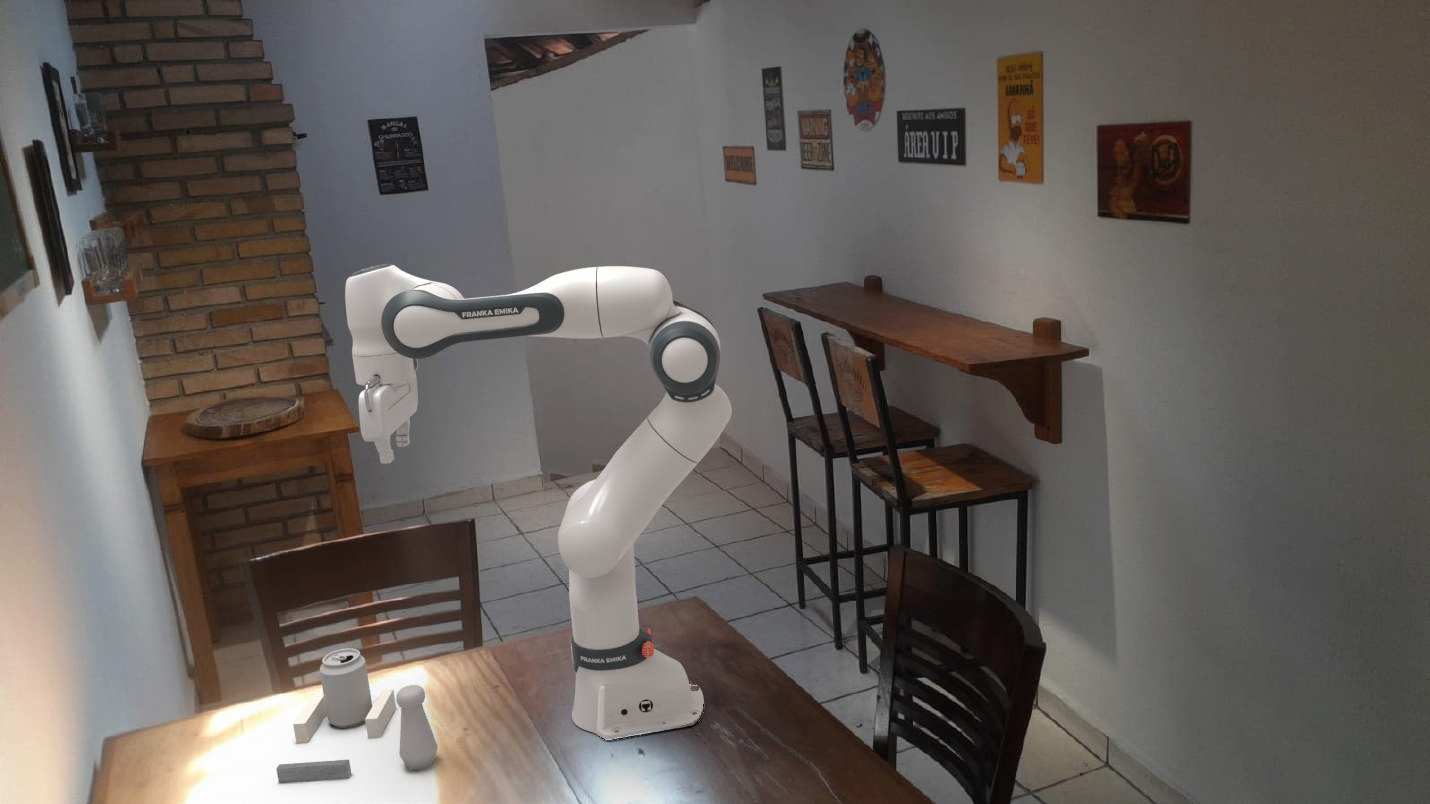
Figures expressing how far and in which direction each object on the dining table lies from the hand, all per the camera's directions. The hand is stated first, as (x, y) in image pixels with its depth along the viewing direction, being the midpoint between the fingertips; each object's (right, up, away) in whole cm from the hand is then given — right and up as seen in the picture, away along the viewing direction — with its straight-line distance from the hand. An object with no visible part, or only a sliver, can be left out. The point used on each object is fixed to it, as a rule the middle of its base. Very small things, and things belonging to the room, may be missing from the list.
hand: (395, 453), depth 172 cm
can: (-12, -47, +15) cm, 51 cm away
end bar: (-12, -51, -3) cm, 52 cm away
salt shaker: (+4, -49, -1) cm, 50 cm away
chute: (-12, -47, +13) cm, 50 cm away
